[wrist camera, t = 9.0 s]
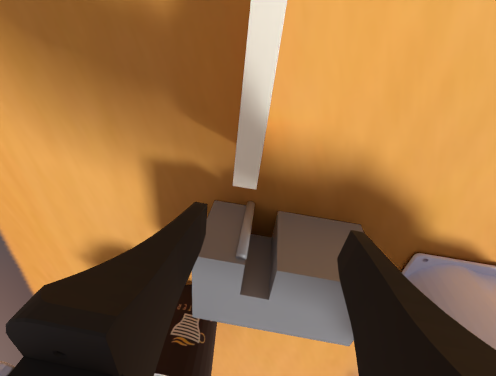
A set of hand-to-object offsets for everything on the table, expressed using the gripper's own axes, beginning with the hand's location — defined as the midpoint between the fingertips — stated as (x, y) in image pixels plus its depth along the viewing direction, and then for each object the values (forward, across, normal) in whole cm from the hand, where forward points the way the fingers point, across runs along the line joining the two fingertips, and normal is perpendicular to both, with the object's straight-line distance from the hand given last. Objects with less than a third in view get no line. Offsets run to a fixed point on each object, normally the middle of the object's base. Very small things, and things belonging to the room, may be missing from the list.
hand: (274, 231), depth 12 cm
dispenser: (+9, -2, +9) cm, 13 cm away
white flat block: (+9, +2, -5) cm, 11 cm away
